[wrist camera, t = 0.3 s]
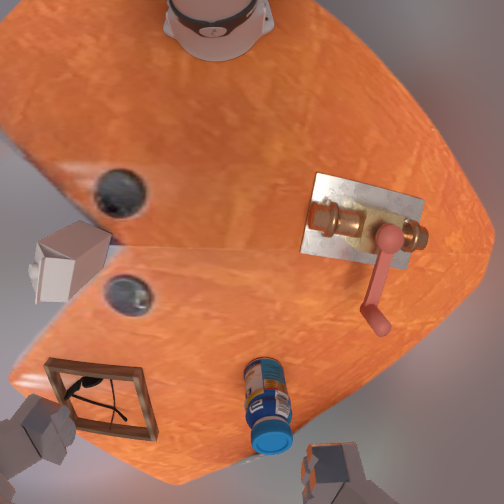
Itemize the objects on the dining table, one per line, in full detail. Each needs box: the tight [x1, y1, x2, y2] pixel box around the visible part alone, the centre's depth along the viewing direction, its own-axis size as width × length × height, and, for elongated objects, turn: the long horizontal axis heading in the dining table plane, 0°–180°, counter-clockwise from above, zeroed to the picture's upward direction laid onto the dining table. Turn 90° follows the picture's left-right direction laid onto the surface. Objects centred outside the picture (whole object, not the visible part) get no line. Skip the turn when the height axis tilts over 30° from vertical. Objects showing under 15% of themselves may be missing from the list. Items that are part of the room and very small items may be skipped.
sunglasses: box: [64, 376, 127, 430], centre depth 63 cm, size 17×14×5 cm
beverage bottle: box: [244, 358, 293, 455], centre depth 54 cm, size 8×8×20 cm
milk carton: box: [29, 221, 112, 304], centre depth 45 cm, size 7×7×19 cm
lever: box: [360, 223, 404, 337], centre depth 44 cm, size 16×4×7 cm, turn 170°
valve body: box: [300, 173, 428, 270], centre depth 51 cm, size 22×14×9 cm, turn 80°
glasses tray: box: [44, 358, 159, 442], centre depth 63 cm, size 21×24×4 cm
